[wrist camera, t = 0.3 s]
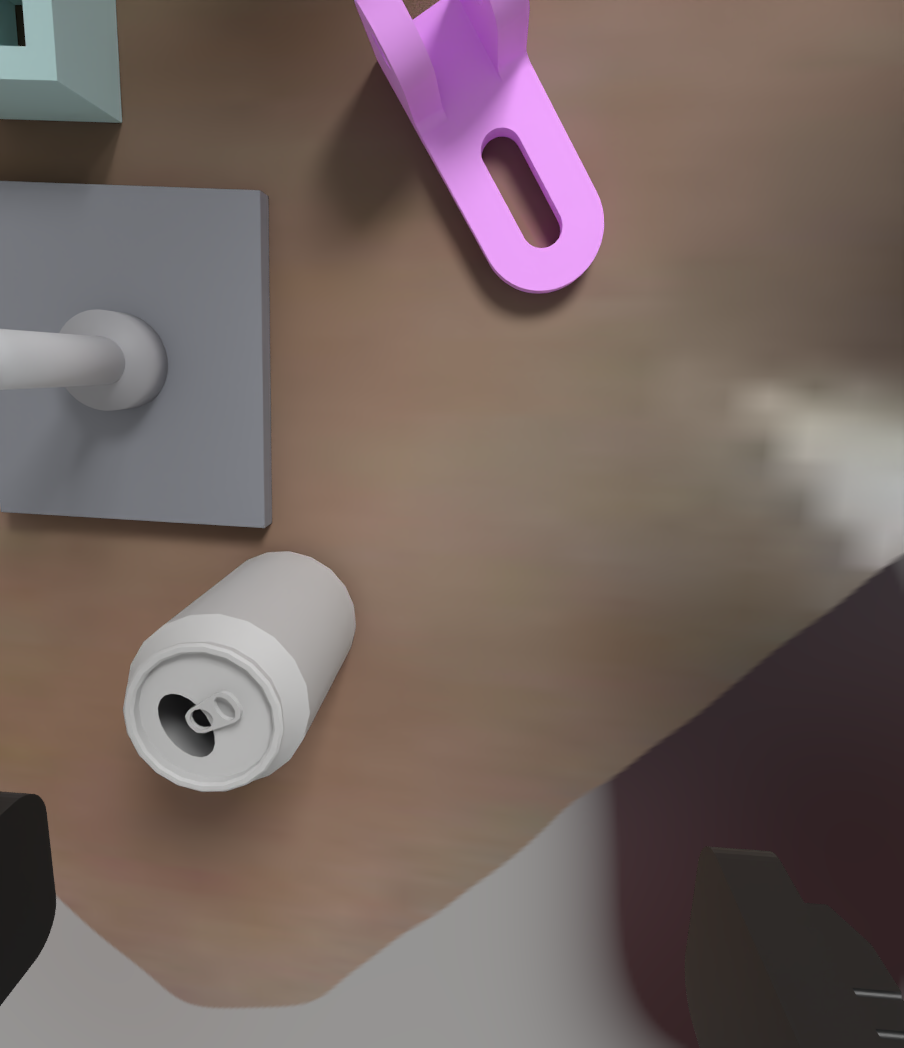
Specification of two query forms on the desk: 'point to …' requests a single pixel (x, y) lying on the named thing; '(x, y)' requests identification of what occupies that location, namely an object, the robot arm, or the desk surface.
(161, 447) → the post block
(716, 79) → the desk surface
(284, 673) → the can
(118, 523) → the desk surface
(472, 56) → the bracket
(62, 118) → the collar
